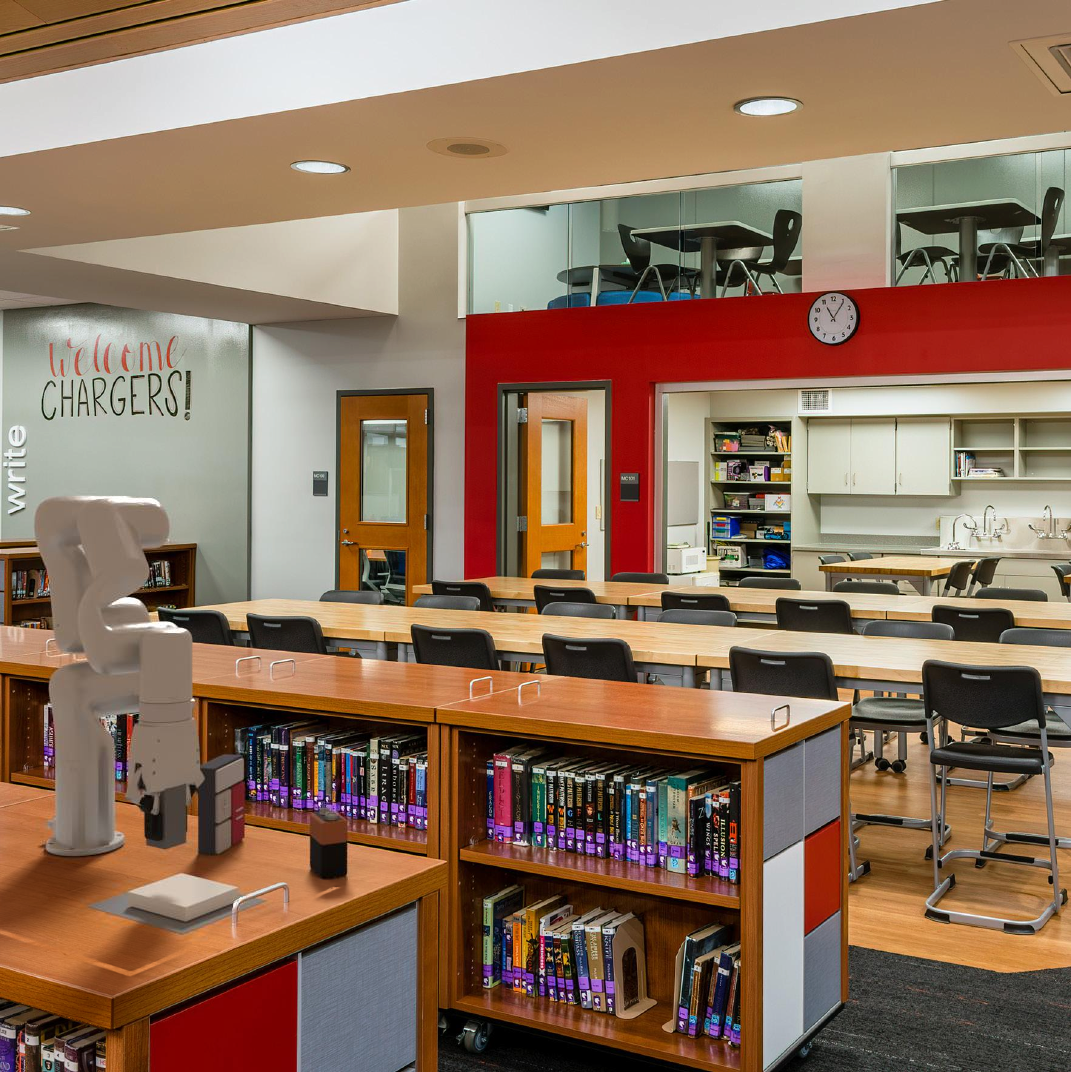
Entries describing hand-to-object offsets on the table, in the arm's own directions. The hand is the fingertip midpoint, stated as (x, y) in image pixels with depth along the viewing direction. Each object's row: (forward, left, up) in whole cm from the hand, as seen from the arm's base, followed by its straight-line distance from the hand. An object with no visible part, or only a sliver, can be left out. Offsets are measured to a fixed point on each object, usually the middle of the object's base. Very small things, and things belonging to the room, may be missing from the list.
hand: (166, 834), depth 174 cm
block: (0, 0, -1) cm, 1 cm away
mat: (+2, 0, -10) cm, 11 cm away
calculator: (-14, +24, -11) cm, 30 cm away
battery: (+10, +24, -11) cm, 28 cm away
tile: (-2, 0, -9) cm, 9 cm away
